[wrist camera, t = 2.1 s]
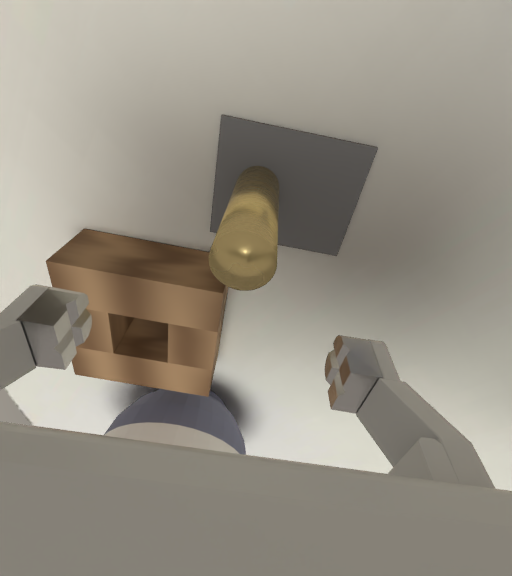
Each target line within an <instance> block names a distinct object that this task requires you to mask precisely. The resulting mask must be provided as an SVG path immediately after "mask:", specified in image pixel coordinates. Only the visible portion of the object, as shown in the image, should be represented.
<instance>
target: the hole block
mask: <svg viewBox="0 0 512 576" xmlns="http://www.w3.org/2000/svg"><path fill="white" fill-rule="evenodd" d="M46 264H47V267H48V271H49V275H50V279H51V283H52V287H54V288H59V289H65V290H70V291H75V292H81V293H85V294H86V295H87V296H88V300H89V304H88V306H87V307H86V309H87V310H88V312H89V313H90V314H91V317H92V326H91V330H90V333H89V336H88V337H87V339H86V340H85V342H84V343H82V344H80V345H78V346H76V352H77V354H76V355H75V356H74V358H73V359H72V364H73V368H74V372H75V374H76V375H81V376H87V377H93V378H99V379H105V380H111V381H117V382H123V383H129V384H135V385H141V386H147V387H153V388H159V389H165V390H171V391H177V392H183V393H189V394H195V395H201V396H206V397H209V392H210V388H211V383H212V379H213V374H214V370H215V365H216V361H217V356H218V350H219V344H220V337H221V331H222V324H223V318H224V311H225V305H226V298H227V292H228V286H226V285H224V284H222V283H221V282H220V281H219V280H218V279H217V278H216V277H215V276H214V274H213V273H212V271H211V269H210V266H209V252H205V251H200V250H194V249H189V248H184V247H178V246H173V245H168V244H163V243H157V242H152V241H147V240H141V239H136V238H131V237H125V236H120V235H115V234H110V233H104V232H99V231H94V230H88V229H83V230H82V231H81V232H80V233H79V234H77V235H76V236H75V237H74V238H73V239H71V240H70V241H69V242H68V243H67V244H65V245H64V246H63V247H62V248H61V249H59V250H58V251H57V252H56V253H55V254H54V255H52V256H51V257H50V258H49V259H48V260H46Z"/></svg>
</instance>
